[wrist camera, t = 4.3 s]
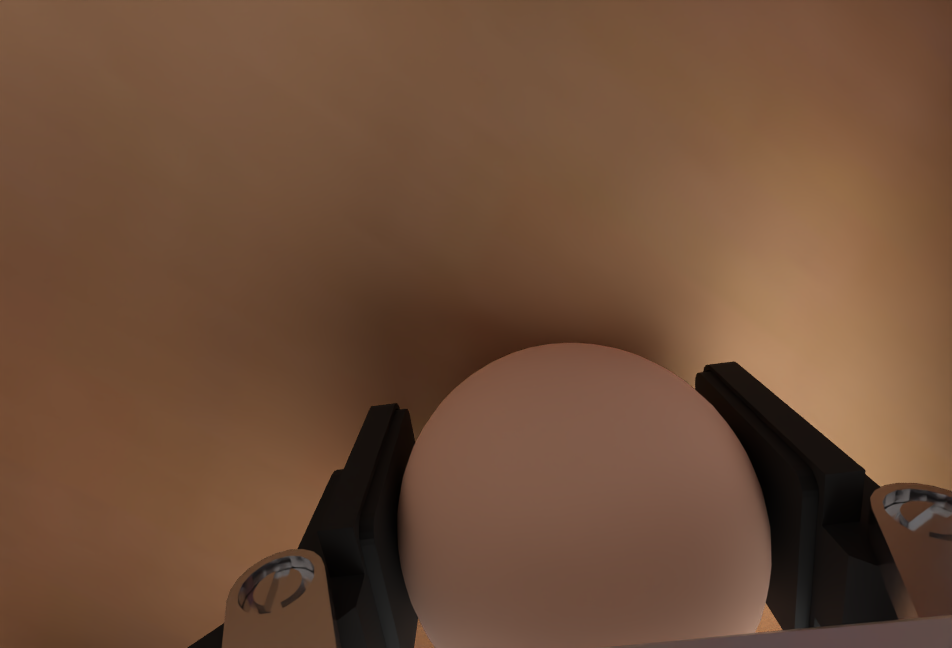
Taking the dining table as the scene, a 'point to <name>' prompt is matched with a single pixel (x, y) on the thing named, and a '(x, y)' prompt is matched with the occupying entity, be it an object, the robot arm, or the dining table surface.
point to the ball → (580, 508)
